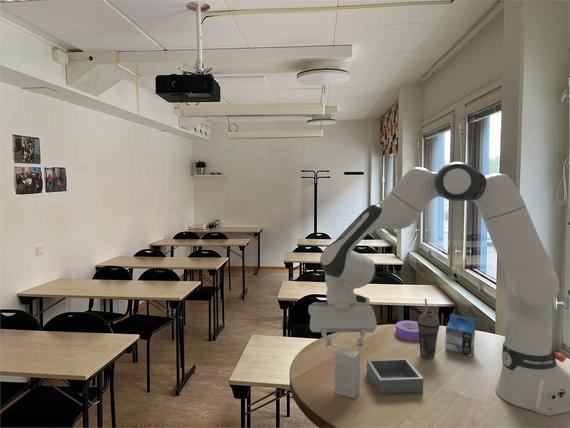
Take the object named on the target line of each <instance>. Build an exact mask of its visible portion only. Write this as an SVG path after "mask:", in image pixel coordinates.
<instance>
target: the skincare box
mask: <svg viewBox="0 0 570 428" xmlns="http://www.w3.org/2000/svg"><path fill="white" fill-rule="evenodd" d="M360 370H361V352H360V351H356V350H352V349H349V348H348V349H347V348H344V347H340V348H339V349H338V350H337V351H335V352H334V374H335V375H334V393H335V394H336V395H341V396H344V397H348V398H351V399H355V398H356V397H357V396H358V395H359V394H360V392H361V390H360V386H361V384H360V381H361V377H360V376H361V375H360V374H361V371H360Z"/></svg>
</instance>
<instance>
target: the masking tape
mask: <svg viewBox="0 0 570 428" xmlns="http://www.w3.org/2000/svg"><path fill="white" fill-rule="evenodd" d="M417 322H418V321H414V320H400V321H397V322H396V324H395V335H396V336H397V337H399V338H400V339H403V340H406V341H410V342H411V341H414V342H417V341H419V329H418V323H417Z"/></svg>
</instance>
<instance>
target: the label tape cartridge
mask: <svg viewBox="0 0 570 428" xmlns="http://www.w3.org/2000/svg"><path fill="white" fill-rule="evenodd" d="M462 319H463V320H464V321H463V320H462ZM475 334H476V318H472V317H468V316H463V315H458V314H455V313H450V314H449V321H448V322H447V324H446V327H445V350H446V351H450V352H454V353H458V354H462V355H465V356H469V357H472V356H473V355H474V353H475V338H476V337H475V336H476V335H475ZM472 354H473V355H472Z"/></svg>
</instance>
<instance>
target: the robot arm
mask: <svg viewBox="0 0 570 428" xmlns="http://www.w3.org/2000/svg"><path fill="white" fill-rule="evenodd" d="M439 197H440V198H443V199H445V200H448V201H450V202H455V203H456V202H458V203H459V202H466V201H472V202H474V204H475V205H476V206H477V208H478V210H479V212H480V215H481V217H482V219H483V222H484V224H485V227H486V230H487V232H488V235H489V237H490V239H491V242H492V245H493V247H494V250H495V252H496V255H497V257H498V260H499V262H500V264H501V268H502V270H503V272H504V274H505V278H506V292H505V297H506V298H505V299H506V300H505V308H506V309H505V332H504V334H505V335H504V342H502V343H503V344H502V352H501V353H502V354H501V357H502V359H501V360H502V366H501V370H500V376H499V379H498V382H497V385H496V387H495V392H496V393H497V395H498V396H499V397H500V398H501V399H503V400H504V401H506V402H508V403H509V404H512V405H514V406H516V407H519V408H523V409H526V410H531V411H534V412H536V413H538V414H542V415H545V416H548V417H549V416H554V415H555V416H556V415H559V414H560V415H561V414H564V413H570V412H569V411H570V373H569V372H568V371H567V370H565V369H564V367H561V366H560V365H559V364H558V363H557V361H556V360H558V361H559V362H560V363H564V362H566V359H567V357H566V355H564V354H562V353H561V352H556V351H555V350H554V349H552V342H553V330H554V328H553V327H554V322H553V309H552V308H553V307H552V305H553V302H554V301H555V300H556V299H557V297H558V295H559V292H560V280H559V277H558V276H557V273H556V271H555V267H554V266H553V264H552V262H551V259H550V257H549V255H548V254H547V251H546V249H545V246H544V244H543V242H542V240H541V238H540V235H539V234H538V232H537V230H536V226H535V225H534V222H533V219H532V218H531V215H530V213H529V210H528V208H527V205H526V203H525V201H524V198H523V196H522V194H521V193H520V191H519V189H518V188H517V186H516V185H515V182H513V180H512V179H511V178H510V176H508V174H505V173H500V172H497V173H491V174H490V173H489V174H487V175H484V174H483V173H481V172H480V171H479V170H477V169H476V168H474V167H473V166H472V165H470V164H468V163H467V162H462V161H453V162H452V161H451V162H449V163H447V164H446V165H443V167H441V169H440V170H438V171H436V172H433V171H431V170H429V169H428V168H425V167H420V166H415V167H412V168H410V169H409V170H408V171H407V172H406V173H405V174H404V175H403V176H402V177H401V178H400V179H399V180H398V181H397V183H396V184H395V185H394V186H393V188H392V189H391V191H390V192H389V193H388V194H387V195H386V196H385V197H384V198H383V199H382V200H381V201H378V203H376V204H372V205H369V206H368V207H366V208H365V209H364V210H363V211H362V212H361V213H360V214H359V215H358V216H357V217H356V218H355V219H354V220H353V221H352V222H351V224H350V225H348V226H347V228H346V229H345V230H344V231H343V232H342V233H341V234H340V235H339V237H337V238H336V239H335V240H334V241H333V242H331V244H330V243H329V245H328V246H327V247H325V249H323V251H322V253H321V256H320V266H321V268H322V270H323V273H324V276H325V277H324V279H325V286H326V289H327V290H326V295H325V296H326V302H313V303H311V304H309V305H308V312H307V313H308V315H309V316H310V320H309V330H310V331H311V332H312V333H321V336H322V338H323V340H324V341H325V346H326V347H330V346H332V337H331V338H330V337H328V335H327V334H328V333H359V335H360V338H359V337H357V347H363V346H364V339H365V336H366V334H367V333H374V332H375V331H376V329H377V325H378V324H377V318H376V314H375V311H374V309H373V307H372V306H371V305H370V298H369V297H368V296H365V295H362V294H357V293H355V292H354V290H355V289H360V288H363V287H365V286H367V285H369V284H370V283H371V282H372V281H374V278H375V275H376V264H375V261H374V260H373V259H372V258H370V257H368V256H366V255H364V254H362V253H359V252H356V251H354V249H355V248H356V247H357V246H358V245H359V243H361V241H362V240H363V239H364V238H365V237H366V236H367V235H368V234H370V233H371V232H373V231H377V230H381V229H382V230H386V229H389V230H404V229H406V228H409V227H410V226H411V225H412V224H414V223H416V221H417V220H418V218H419V217H420V216H421V215H422V213H423V211H425V209H426V208H427V206H428V205H429V204H430V202H432V201H433V200H434V199H436V198H439Z"/></svg>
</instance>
